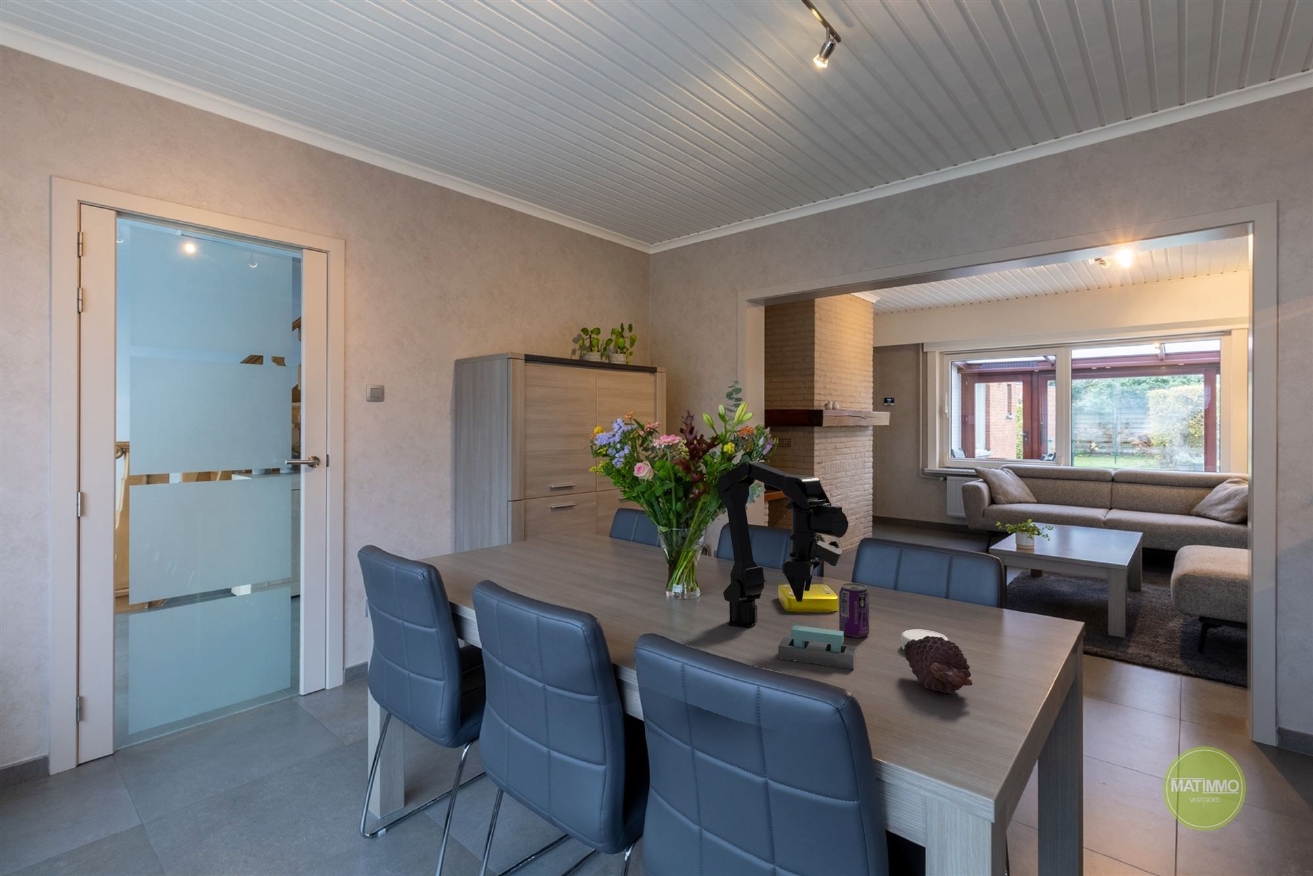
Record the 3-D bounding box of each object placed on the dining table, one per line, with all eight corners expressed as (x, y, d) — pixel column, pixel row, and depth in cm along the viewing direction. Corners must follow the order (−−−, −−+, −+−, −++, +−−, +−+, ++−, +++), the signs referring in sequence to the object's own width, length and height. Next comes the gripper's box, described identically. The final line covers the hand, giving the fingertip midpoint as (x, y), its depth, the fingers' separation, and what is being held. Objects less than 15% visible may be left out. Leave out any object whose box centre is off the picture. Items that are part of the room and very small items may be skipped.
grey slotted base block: (778, 658, 135) (778, 645, 134) (783, 649, 140) (783, 636, 140) (853, 669, 128) (853, 655, 128) (856, 659, 134) (856, 646, 134)
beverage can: (871, 639, 146) (871, 590, 146) (840, 638, 147) (840, 589, 147) (867, 630, 153) (866, 583, 153) (838, 628, 154) (837, 581, 154)
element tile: (840, 613, 168) (840, 596, 168) (786, 613, 168) (786, 596, 168) (826, 598, 183) (826, 582, 183) (777, 598, 183) (777, 582, 183)
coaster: (921, 661, 133) (921, 645, 133) (892, 645, 143) (892, 630, 143) (958, 656, 136) (958, 640, 136) (927, 641, 145) (927, 626, 145)
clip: (791, 658, 135) (791, 629, 135) (793, 653, 138) (793, 625, 138) (842, 665, 131) (842, 635, 130) (843, 660, 133) (843, 631, 133)
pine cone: (888, 672, 127) (888, 625, 127) (930, 668, 129) (929, 621, 129) (944, 711, 109) (944, 656, 109) (992, 705, 111) (992, 651, 111)
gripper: (834, 541, 129) (832, 613, 130) (845, 526, 146) (844, 589, 147) (782, 536, 134) (781, 605, 135) (799, 522, 151) (798, 584, 152)
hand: (803, 596), depth 142 cm, fingers open, 9 cm apart
